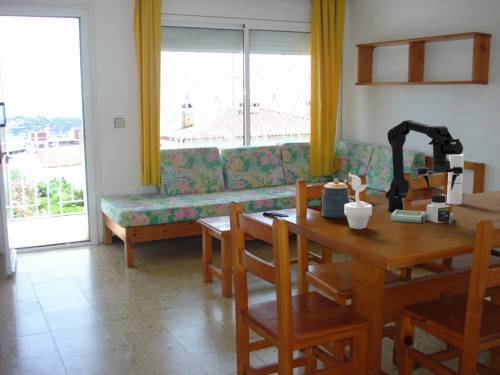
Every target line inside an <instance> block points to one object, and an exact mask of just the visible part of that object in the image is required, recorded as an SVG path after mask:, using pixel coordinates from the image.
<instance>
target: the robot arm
mask: <svg viewBox="0 0 500 375" xmlns="http://www.w3.org/2000/svg"><path fill="white" fill-rule="evenodd" d="M411 131H412V132H416V133H420V134H424V135H426V136H427V137H428V138H430V139H431V141H430V142H428V145H429V146H432V168H428V167H419V168H418V169H417V175H419V176H421V177H423V178H424V180H425V182H426V185H427V188H428V190H429V191H431V183H430V177H429V174H437V173H438V174H442V173H443V174H445V173H447V174H448V172H453V175H452V183H451V190H452V189H453V185H454V182H455V179H456V177H457V176H460V174H463V175H464V167H463V168H462V167H461V166H460V167H453V168H450V161H449V160H448V159H447V157H448V156H449V155H460V154H463V152H464V146H463V144H462V142H461V141H460V138H453V136H452V135H451V133H450V131H449V129H448V127H447V126H445V125H431V124H430V125H429V124H425V123H422V122H418V121H414V120H412V119H408V120H407V119H406V120H405V119H404V120H402V121H401V122H400V123H399V124H397V125H395V126H393V127H392V128H391V129H389V130H388V131H387V134H386V136H387V141H388V144H389V145H390V147H391V153H392V175H393V176H392V177H393V178H392V180H391V182H390V187H389V190H387V192H386V193H385V199H388V209H387V212H392V213H393V212H394V211H395V210H404V209H405V200H404V199H405V198H406V197H407V196H408V193H409V190H410V181H409V180H406V177H405V169H404V150H403V149H404V148H403V147H404V145H405V143H406V137H407V136H408V135H409V134H410V132H411Z"/></svg>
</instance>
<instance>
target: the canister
mask: <svg viewBox="0 0 500 375" xmlns="http://www.w3.org/2000/svg"><path fill="white" fill-rule="evenodd" d="M323 188H324V189H322V190H321V193H322V197H321V215H322V217H323V216H324V217H323V218H326V217H329V218H328V219H333V218H341V219H347V218H346V217H347V216H346V215H345V214H344V205H345V204H348V203H351V202H350V200H351V198H350V193H351V191H350V190H349V189H348V188H349V185H347V183H346V182H340V180H339V178H334V179H333V182H332V181H331V182H327V183H326V184H324V185H323Z"/></svg>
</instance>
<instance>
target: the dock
mask: <svg viewBox="0 0 500 375" xmlns="http://www.w3.org/2000/svg"><path fill="white" fill-rule="evenodd" d="M426 216H427V210H425V211H424V214H423V220H422V223H426V221H427V220H426ZM453 219H454V212H450V216H449V222H448V225H452V223H453V221H454V220H453Z"/></svg>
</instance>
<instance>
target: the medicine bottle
mask: <svg viewBox="0 0 500 375" xmlns="http://www.w3.org/2000/svg"><path fill="white" fill-rule="evenodd" d="M426 211H427V216H426V221H429V222H432V223H435V224H441V223H449V216H450V213H451V206H450V205H449V204H447V195H446V194H443V193H435V194H434V193H433V194H432V195H431V204H427V205H426Z"/></svg>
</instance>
